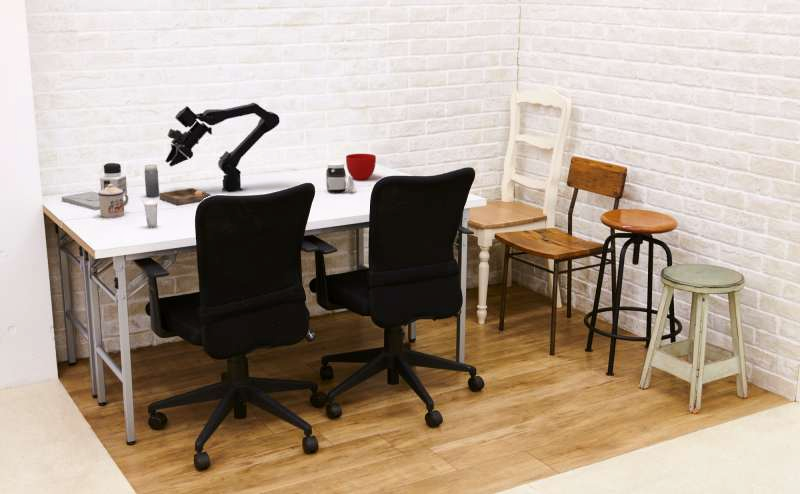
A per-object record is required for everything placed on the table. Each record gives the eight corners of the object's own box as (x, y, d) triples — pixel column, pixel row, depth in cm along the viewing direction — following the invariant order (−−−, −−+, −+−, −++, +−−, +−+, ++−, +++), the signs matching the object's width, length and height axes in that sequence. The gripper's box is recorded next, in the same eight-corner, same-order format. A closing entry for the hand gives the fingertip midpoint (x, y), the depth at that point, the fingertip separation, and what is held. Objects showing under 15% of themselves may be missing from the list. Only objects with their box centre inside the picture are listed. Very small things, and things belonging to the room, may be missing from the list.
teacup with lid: (109, 219, 380) (107, 188, 377) (94, 215, 386) (92, 184, 383) (136, 213, 389) (134, 182, 386) (121, 209, 395) (119, 179, 392)
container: (118, 197, 416) (116, 165, 412) (101, 196, 417) (98, 164, 414) (127, 193, 423) (125, 162, 419) (109, 192, 424) (107, 161, 421)
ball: (200, 197, 413) (200, 189, 412) (204, 198, 411) (203, 190, 410) (193, 198, 411) (192, 190, 410) (197, 199, 409) (196, 191, 408)
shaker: (155, 194, 421) (153, 164, 418) (161, 196, 417) (159, 165, 414) (143, 196, 418) (141, 165, 415) (149, 198, 414) (147, 167, 411)
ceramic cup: (381, 174, 460) (381, 152, 458) (371, 182, 444) (371, 159, 442) (353, 173, 463) (352, 151, 460) (342, 181, 447) (342, 158, 445)
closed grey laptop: (95, 212, 394) (126, 206, 404) (95, 206, 394) (126, 200, 404) (61, 201, 410) (92, 195, 419) (61, 196, 409) (92, 190, 419)
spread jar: (324, 189, 431) (324, 161, 428) (351, 188, 433) (351, 160, 430) (330, 195, 419) (329, 167, 416) (357, 194, 422) (357, 165, 419)
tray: (192, 194, 421) (192, 188, 421) (210, 200, 411) (210, 194, 410) (159, 199, 413) (159, 193, 412) (177, 205, 402) (176, 199, 401)
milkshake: (144, 224, 372) (142, 197, 369) (159, 224, 372) (157, 197, 370) (142, 227, 368) (140, 200, 365) (157, 227, 368) (155, 199, 365)
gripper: (175, 118, 423) (149, 147, 422) (183, 125, 406) (156, 154, 405) (195, 136, 428) (169, 164, 427) (204, 143, 411) (177, 173, 410)
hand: (168, 163), depth 417 cm, fingers open, 9 cm apart
